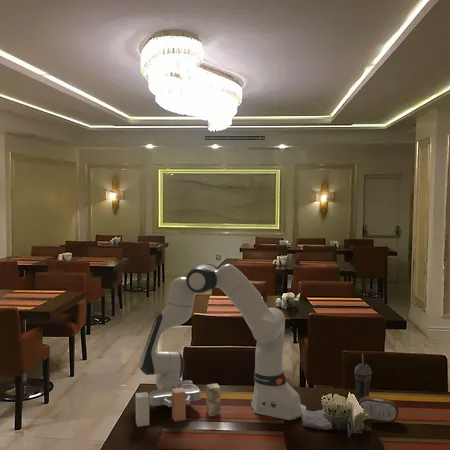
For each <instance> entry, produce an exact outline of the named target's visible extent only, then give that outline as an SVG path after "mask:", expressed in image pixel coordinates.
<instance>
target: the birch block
mask: <svg viewBox="0 0 450 450" xmlns="http://www.w3.org/2000/svg"><path fill="white" fill-rule="evenodd" d="M205 390H206V413H207V415H208V416H209V417H215V416H221V387H220V385H219V384H218V382H217V383H209V384H206V389H205Z"/></svg>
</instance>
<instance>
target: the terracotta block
mask: <svg viewBox="0 0 450 450" xmlns="http://www.w3.org/2000/svg"><path fill="white" fill-rule="evenodd" d="M186 407H187V405H186V392H185V390H184V389H183V388H175V389H172V407H171V417H172V419H173V422H180V421H185V420H186V419H187V418H186V417H187V416H186V415H187V414H186V413H187V412H186V410H187V408H186Z"/></svg>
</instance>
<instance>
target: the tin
mask: <svg viewBox="0 0 450 450" xmlns="http://www.w3.org/2000/svg"><path fill="white" fill-rule="evenodd" d="M357 402H358V403H359V405H360V406H361V407H362V408H363V409H365V410H366V411H367V413H368V414H369V416H370V417H371V419H372V421H378V422H385V423H392V422H394V421H395V420H396V419H397V418H398V416H399V412H400V411H399V410H400V409H399V407H398V404H397V403H396V402H395V401H394V400H392V399H390V398H382V397H375V396H371V395H369V396H366V397H363V398H361V399H360V400H359V401H357ZM358 403H357V404H358Z"/></svg>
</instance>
